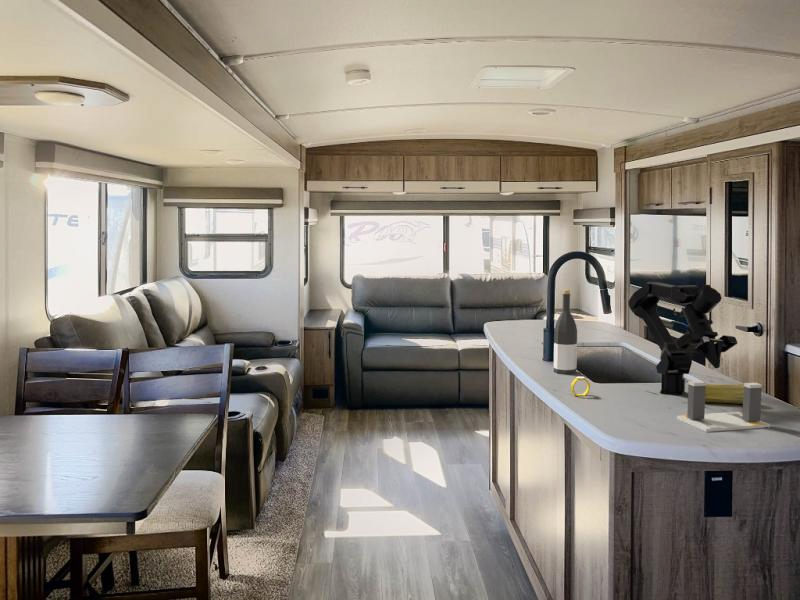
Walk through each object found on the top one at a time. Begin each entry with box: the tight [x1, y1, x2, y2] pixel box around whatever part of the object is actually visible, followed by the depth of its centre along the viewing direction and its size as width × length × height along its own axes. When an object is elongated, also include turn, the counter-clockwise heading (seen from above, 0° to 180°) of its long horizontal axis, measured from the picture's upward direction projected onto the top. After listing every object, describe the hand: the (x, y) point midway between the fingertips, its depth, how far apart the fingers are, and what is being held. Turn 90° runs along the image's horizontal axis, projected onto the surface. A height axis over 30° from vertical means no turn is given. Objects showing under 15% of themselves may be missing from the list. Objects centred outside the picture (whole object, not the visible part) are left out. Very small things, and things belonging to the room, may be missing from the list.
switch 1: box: [686, 380, 707, 420], centre depth 199 cm, size 2×4×10 cm
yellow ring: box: [570, 376, 591, 397], centre depth 230 cm, size 6×3×6 cm, turn 103°
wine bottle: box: [553, 289, 578, 375], centre depth 263 cm, size 8×8×30 cm
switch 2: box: [742, 382, 763, 422], centre depth 196 cm, size 2×4×10 cm
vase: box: [705, 383, 744, 405], centre depth 219 cm, size 6×6×14 cm
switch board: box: [677, 411, 771, 433], centre depth 198 cm, size 13×19×1 cm
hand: (717, 367), depth 211 cm, fingers closed
